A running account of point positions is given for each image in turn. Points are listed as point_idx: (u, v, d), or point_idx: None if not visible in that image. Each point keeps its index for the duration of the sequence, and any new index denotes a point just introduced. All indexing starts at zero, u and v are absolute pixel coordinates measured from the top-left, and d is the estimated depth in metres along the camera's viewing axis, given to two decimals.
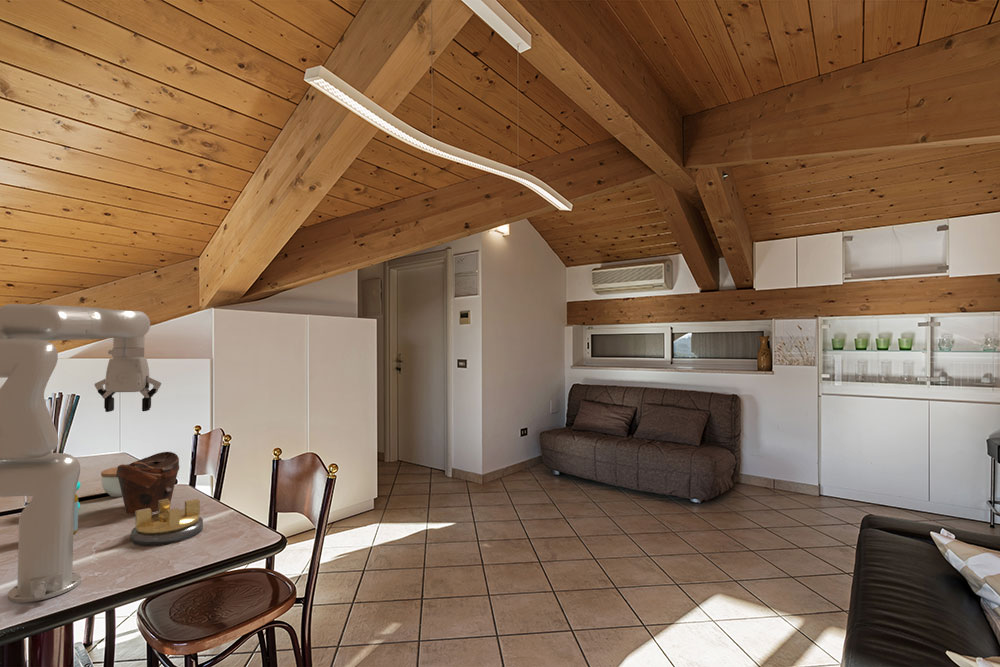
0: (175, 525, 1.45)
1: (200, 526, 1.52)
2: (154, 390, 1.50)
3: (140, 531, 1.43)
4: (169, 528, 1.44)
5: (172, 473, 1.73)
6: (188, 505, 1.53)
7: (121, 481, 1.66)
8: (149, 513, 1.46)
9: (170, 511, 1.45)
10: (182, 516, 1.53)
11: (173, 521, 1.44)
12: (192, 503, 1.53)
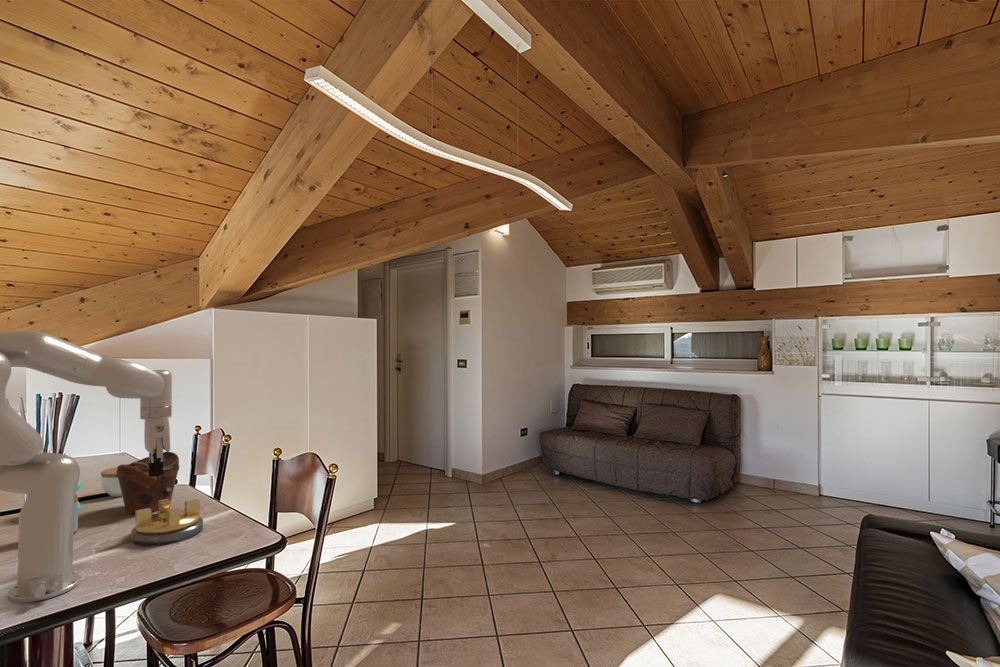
0: (175, 525, 1.45)
1: (200, 526, 1.52)
2: None
3: (140, 531, 1.43)
4: (169, 528, 1.44)
5: (172, 473, 1.73)
6: (188, 505, 1.53)
7: (121, 481, 1.66)
8: (149, 513, 1.46)
9: (170, 511, 1.45)
10: (182, 516, 1.53)
11: (173, 521, 1.44)
12: (192, 503, 1.53)
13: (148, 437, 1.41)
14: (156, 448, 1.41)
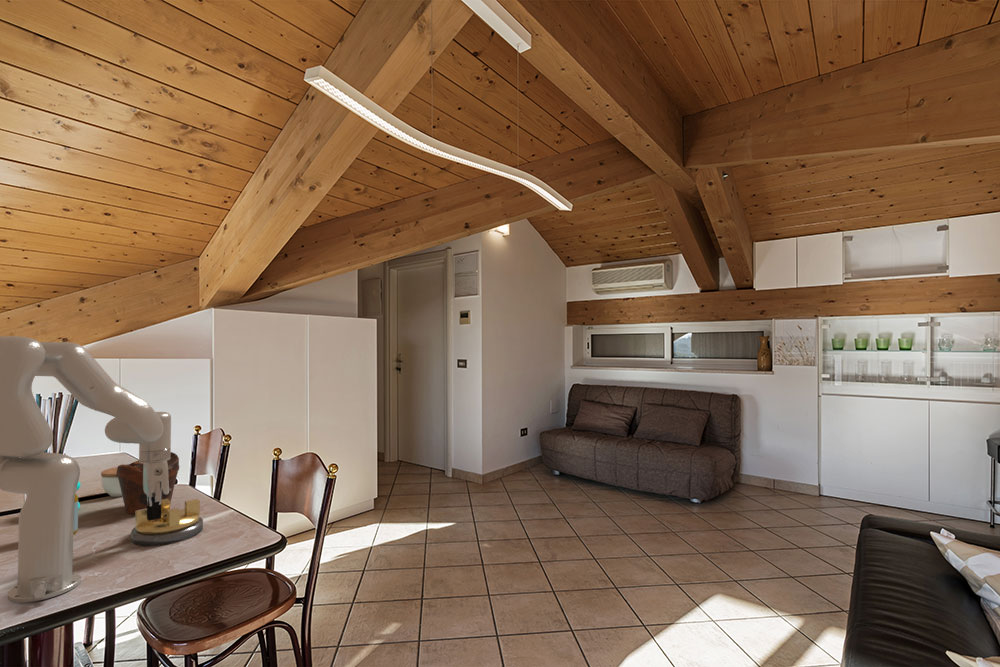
0: (175, 525, 1.45)
1: (200, 526, 1.52)
2: None
3: (140, 531, 1.43)
4: (169, 528, 1.44)
5: (172, 473, 1.73)
6: (188, 505, 1.53)
7: (121, 481, 1.66)
8: None
9: (170, 511, 1.45)
10: (182, 516, 1.53)
11: (173, 521, 1.44)
12: (192, 503, 1.53)
13: (147, 481, 1.40)
14: (154, 492, 1.41)
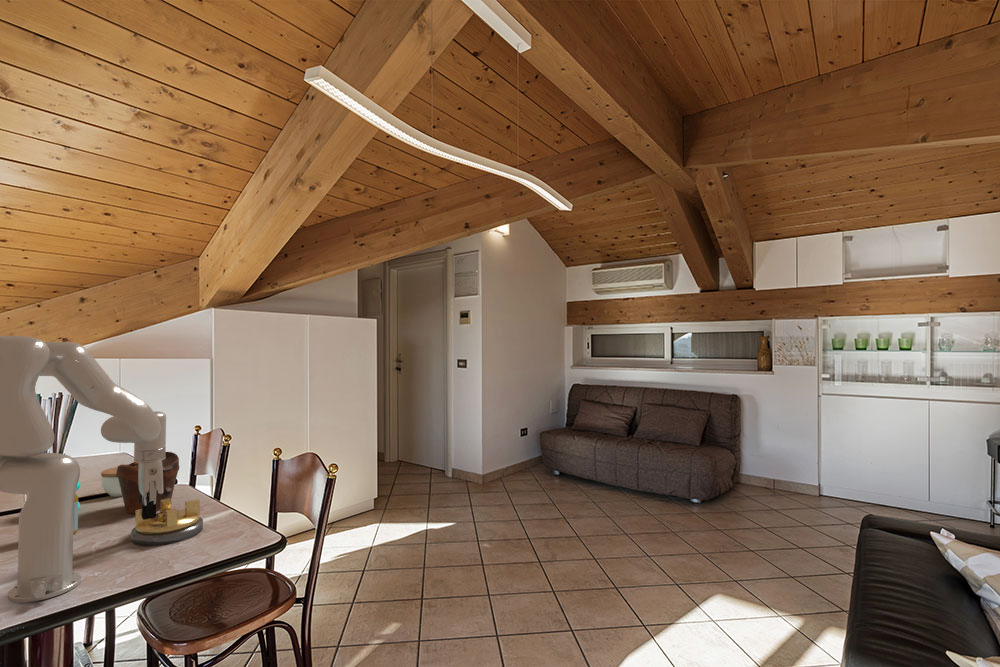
0: (173, 525, 1.44)
1: (200, 526, 1.52)
2: None
3: (139, 531, 1.43)
4: (167, 528, 1.43)
5: (172, 473, 1.73)
6: (188, 505, 1.52)
7: (121, 481, 1.66)
8: None
9: (168, 511, 1.45)
10: (182, 516, 1.52)
11: (171, 522, 1.44)
12: (192, 503, 1.53)
13: (141, 480, 1.41)
14: (149, 491, 1.41)
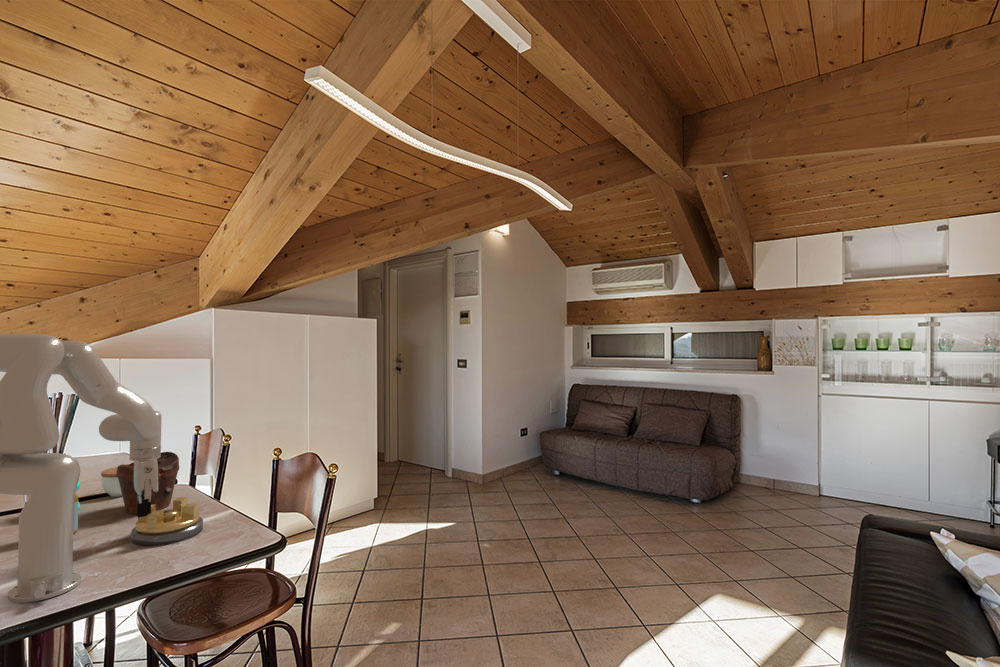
0: (152, 528, 1.42)
1: (200, 526, 1.52)
2: None
3: (136, 526, 1.46)
4: (147, 530, 1.42)
5: (172, 473, 1.73)
6: (183, 509, 1.49)
7: (121, 481, 1.66)
8: None
9: (152, 513, 1.44)
10: (180, 518, 1.50)
11: (150, 524, 1.42)
12: (186, 508, 1.49)
13: (136, 478, 1.43)
14: (144, 489, 1.43)
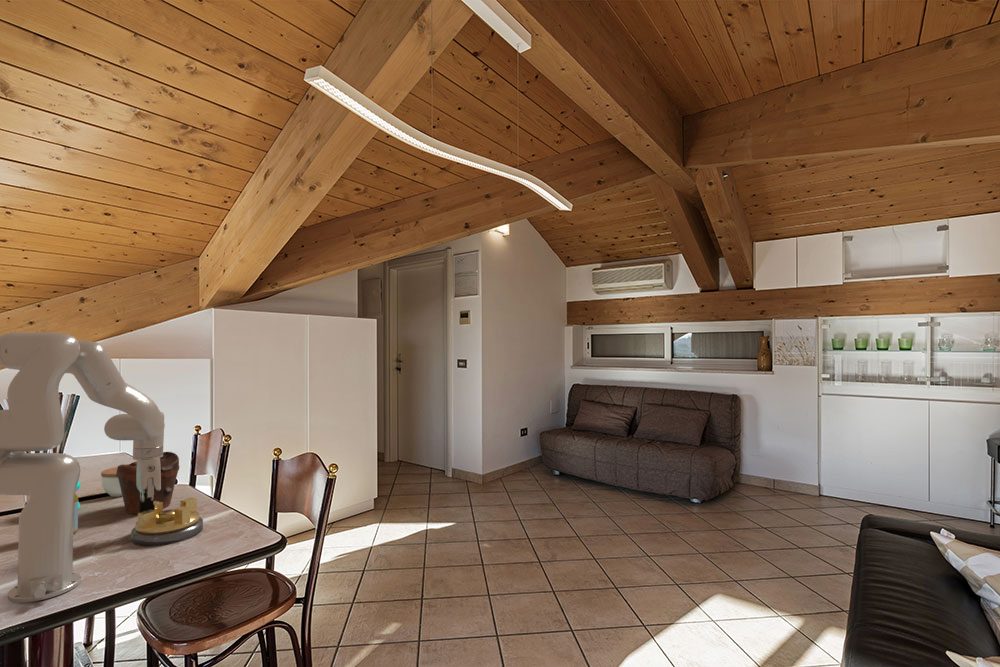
0: (140, 527, 1.43)
1: (200, 526, 1.52)
2: None
3: None
4: (138, 528, 1.43)
5: (172, 473, 1.73)
6: (175, 511, 1.47)
7: (121, 481, 1.66)
8: (153, 507, 1.51)
9: (144, 511, 1.44)
10: None
11: (140, 523, 1.43)
12: (177, 511, 1.47)
13: (140, 477, 1.46)
14: (147, 488, 1.46)
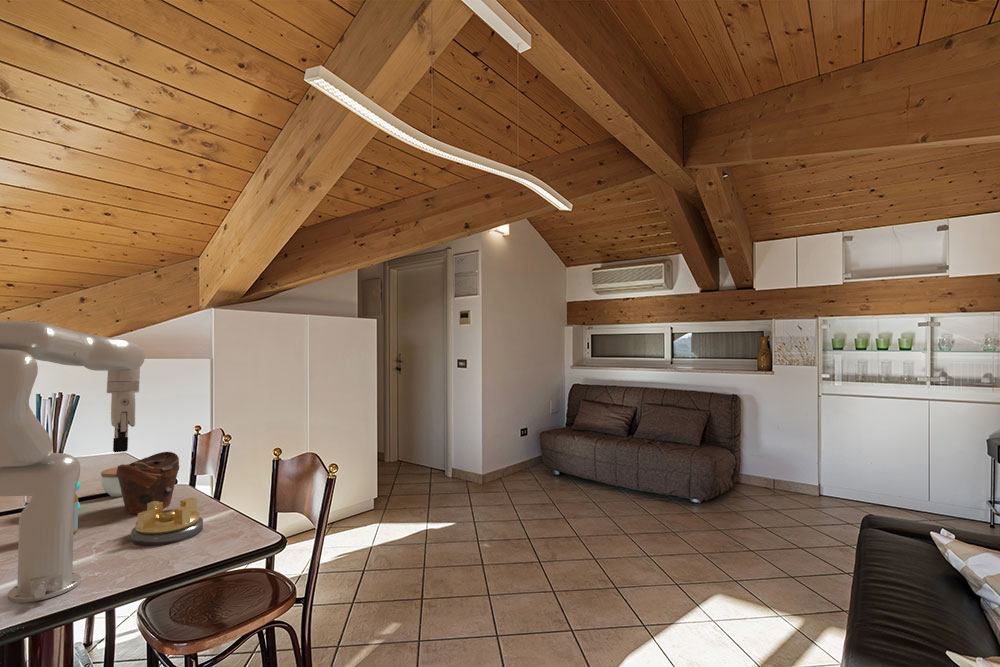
0: (140, 527, 1.43)
1: (200, 526, 1.52)
2: None
3: None
4: (138, 528, 1.43)
5: (172, 473, 1.73)
6: (175, 511, 1.47)
7: (121, 481, 1.66)
8: (153, 507, 1.51)
9: (144, 511, 1.44)
10: None
11: (140, 523, 1.43)
12: (177, 511, 1.47)
13: (113, 411, 1.41)
14: (120, 422, 1.41)
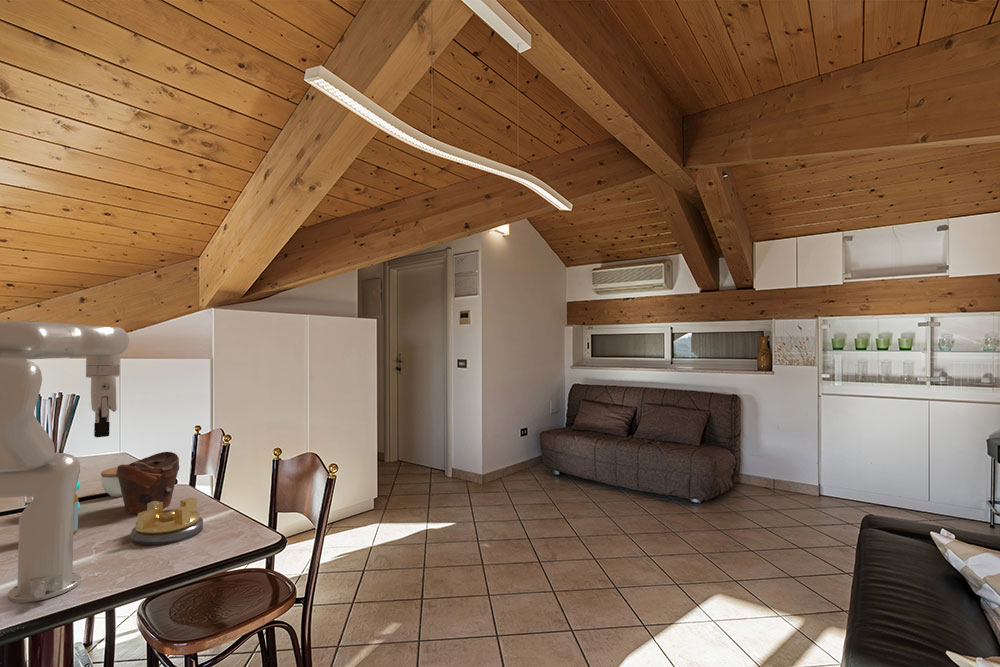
0: (140, 527, 1.43)
1: (200, 526, 1.52)
2: None
3: None
4: (138, 528, 1.43)
5: (172, 473, 1.73)
6: (175, 511, 1.47)
7: (121, 481, 1.66)
8: (153, 507, 1.51)
9: (144, 511, 1.44)
10: None
11: (140, 523, 1.43)
12: (177, 511, 1.47)
13: (93, 395, 1.37)
14: (101, 407, 1.38)
